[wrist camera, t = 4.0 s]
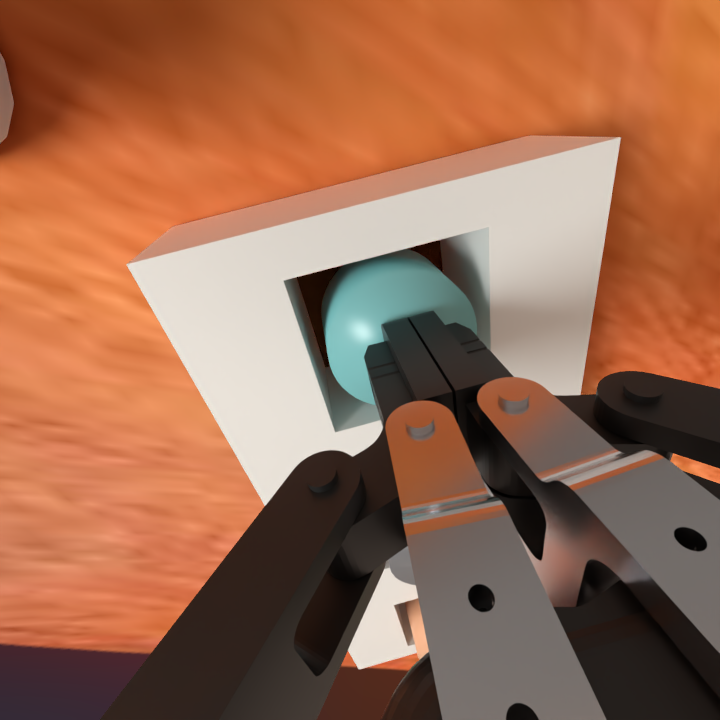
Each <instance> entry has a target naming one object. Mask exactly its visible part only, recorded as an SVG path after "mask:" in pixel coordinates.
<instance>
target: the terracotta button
mask: <svg viewBox="0 0 720 720" xmlns="http://www.w3.org/2000/svg"><path fill="white" fill-rule="evenodd" d="M405 606H406V610H407V614H408V618H409V622H410V626H411V630H412V634H413V639H414V643H415V647H416V651H417V655H418V658H419V659H421V658H422V657H423V656H424V655H425V654H426V653H428V652H429V649H428V644H427V639H426V634H425V629H424V624H423V619H422V614H421V609H420V604H419V599H418V598H417V599H414V600H410V601H407V602H405Z"/></svg>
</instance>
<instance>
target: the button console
mask: <svg viewBox="0 0 720 720" xmlns="http://www.w3.org/2000/svg"><path fill="white" fill-rule="evenodd" d="M620 140H621V137H586V136H536V135H529V136H525V137H521V138H517V139H513V140H509V141H505V142H502V143H498V144H494V145H490V146H486V147H482V148H478V149H474V150H470V151H466V152H462V153H459V154H455V155H451V156H447V157H443V158H439V159H435V160H431V161H427V162H423V163H419V164H415V165H412V166H408V167H404V168H400V169H396V170H392V171H388V172H384V173H380V174H376V175H372V176H369V177H365V178H361V179H357V180H353V181H349V182H345V183H341V184H337V185H333V186H329V187H325V188H322V189H318V190H314V191H310V192H306V193H302V194H298V195H294V196H290V197H286V198H282V199H278V200H275V201H271V202H267V203H263V204H259V205H255V206H251V207H247V208H243V209H239V210H235V211H232V212H228V213H224V214H220V215H216V216H212V217H208V218H204V219H200V220H196V221H192V222H188V223H185V224H181V225H177V226H173V227H171V228H170V229H169V230H168V231H167V232H165V233H164V234H163V235H162V236H160V237H159V238H158V239H157V240H156V241H154V242H153V243H152V244H151V245H149V246H148V247H147V248H146V249H145V250H143V251H142V252H141V253H140V254H138V255H137V256H136V257H135V258H134V259H132V260H131V261H130V262H129V263H127V264H126V265H127V266H128V268H129V270H130V272H131V273H132V275H133V277H134V279H135V280H136V282H137V284H138V285H139V287H140V289H141V291H142V292H143V294H144V296H145V298H146V299H147V301H148V303H149V305H150V306H151V308H152V310H153V312H154V313H155V315H156V317H157V319H158V320H159V322H160V324H161V326H162V327H163V329H164V331H165V333H166V334H167V336H168V338H169V339H170V341H171V343H172V345H173V346H174V348H175V350H176V352H177V353H178V355H179V357H180V359H181V360H182V362H183V364H184V366H185V367H186V369H187V371H188V373H189V374H190V376H191V378H192V380H193V381H194V383H195V385H196V387H197V388H198V390H199V392H200V393H201V395H202V397H203V399H204V400H205V402H206V404H207V406H208V407H209V409H210V411H211V413H212V414H213V416H214V418H215V420H216V421H217V423H218V425H219V427H220V428H221V430H222V432H223V434H224V435H225V437H226V439H227V441H228V442H229V444H230V446H231V447H232V449H233V451H234V453H235V454H236V456H237V458H238V460H239V461H240V463H241V465H242V467H243V468H244V470H245V472H246V474H247V475H248V477H249V479H250V481H251V482H252V484H253V486H254V488H255V489H256V491H257V493H258V495H259V496H260V498H261V500H262V502H263V503H264V505H265V506H266V504H267V503H268V502H269V501H270V499H271V498H272V497H273V495H274V494H275V493H276V491H277V490H278V489H279V488H280V486H281V485H282V484H283V482H284V481H285V480H286V479H287V477H288V476H289V475H290V473H291V472H292V471H293V470H294V468H295V467H296V466H297V465H298V464H299V463H300V462H301V461H303V460H304V459H306V458H307V457H309V456H311V455H313V454H315V453H318V452H321V451H327V450H338V451H342V452H345V453H347V454H349V455H351V456H352V457H353V456H355V455H356V454H358V453H360V452H362V451H363V450H365V449H366V448H368V447H369V446H370V445H372V444H373V443H374V442H375V441H376V440H377V438H378V437H379V435H380V434H381V432H382V429H383V426H382V423H381V420H380V417H379V413H378V410H377V407H376V405H372V404H369V403H366V402H363V401H361V400H359V399H357V398H355V397H354V396H352V395H351V394H349V393H348V392H347V391H346V390H345V389H344V388H342V386H341V385H340V384H339V383H338V381H337V380H336V378H335V376H334V375H333V372H332V370H331V367H330V366H329V367H325V365H324V362H323V359H322V356H321V352H320V349H319V346H318V343H317V340H316V337H315V334H314V330H313V327H312V324H311V321H310V318H309V315H308V312H307V308H306V305H305V302H304V299H303V296H302V293H301V290H300V286H299V283H298V280H297V277H299V276H303V275H307V274H311V273H315V272H318V271H322V270H326V269H330V268H334V267H338V266H341V265H345V264H349V263H353V262H357V261H361V260H364V259H368V258H372V257H376V256H380V255H384V254H387V253H391V252H395V251H399V250H403V249H407V248H410V247H414V246H418V245H422V244H426V243H430V242H433V241H437V240H440V246H441V257H442V269H443V274H444V275H445V276H446V277H448V278H449V279H450V280H451V281H452V282H453V283H454V284H455V285H456V286H457V287H458V288H459V289H460V290H461V291H462V292H463V293H464V294H465V295H466V297H467V298H468V300H469V301H470V303H471V305H472V307H473V309H474V312H475V316H476V321H477V337H478V338H479V340H480V341H482V342H483V343H484V344H485V345H486V346H487V349H489V350H490V351H491V352H492V353H493V354H494V355H495V356H496V358H497V359H498V360H499V361H500V362H501V363H502V364H503V365H504V366H505V367H506V369H507V370H508V371H509V372H510V373H511V374H512V375H513V376H514V377H519V378H525V379H529V380H532V381H534V382H537V383H538V384H540V385H542V386H543V387H544V388H546V389H547V390H548V391H549V392H550V393H551V394H553V395H563V396H565V395H581V388H582V382H583V375H584V369H585V363H586V356H587V350H588V344H589V337H590V331H591V325H592V318H593V312H594V305H595V299H596V293H597V286H598V280H599V274H600V267H601V261H602V254H603V248H604V242H605V235H606V229H607V223H608V216H609V210H610V204H611V197H612V191H613V184H614V178H615V172H616V165H617V159H618V153H619V146H620ZM476 467H477V466H476ZM477 469H478V468H477ZM478 471H479V470H478ZM479 473H480V472H479ZM480 476H481V473H480ZM417 598H418V594H417V589H416V585H411V584H407V583H404V582H402V581H400V580H398V579H397V578H396V577H395V576H394V575H393V574H392V572H391V570H390V566H389V561H388V560H387V561H386V564H385V568H384V571H383V573H382V576H381V578H380V580H379V582H378V584H377V587H376V589H375V591H374V593H373V595H372V598H371V600H370V602H369V604H368V607H367V609H366V611H365V613H364V615H363V618H362V620H361V622H360V624H359V626H358V629H357V631H356V633H355V635H354V638H353V640H352V642H351V644H350V646H349V649H348V651H349V653H350V655H351V657H352V658H353V660H354V662H355V664H356V665H357V667H358V669H362V668H366V667H369V666H373V665H376V664H380V663H383V662H387V661H390V660H394V659H397V658H401V657H404V656H408V655H411V654H414V653H417V651H416V647H415V643H414V639H413V634H412V630H411V626H410V622H409V618H408V614H407V610H406V606H405V602H407V601H410V600H414V599H417Z"/></svg>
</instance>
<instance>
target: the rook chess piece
mask: <svg viewBox="0 0 720 720" xmlns="http://www.w3.org/2000/svg"><path fill="white" fill-rule="evenodd" d="M13 107H14V100H13V96H12V91H11V87H10V82H9V78H8V73H7V69H6V64H5V60H4V59H3V57H2V55H1V53H0V143H1V142H2V141H3V140H4V139H5V138H6V137H7V135H8V130H9V126H10V121H11V116H12V111H13Z"/></svg>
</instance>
